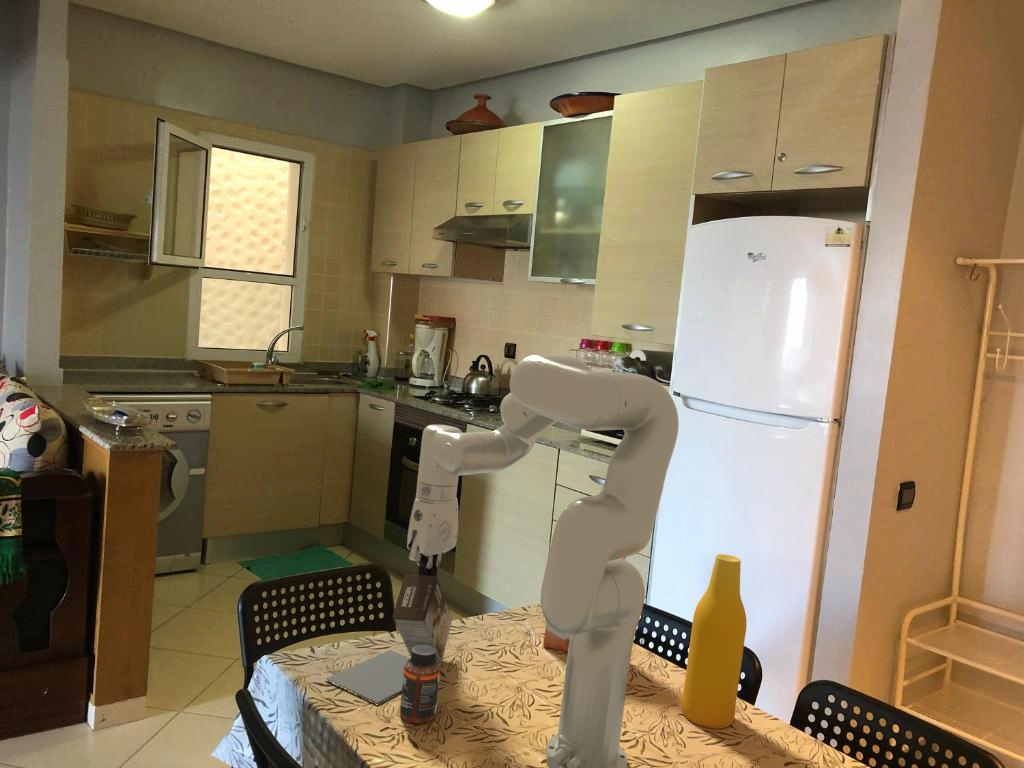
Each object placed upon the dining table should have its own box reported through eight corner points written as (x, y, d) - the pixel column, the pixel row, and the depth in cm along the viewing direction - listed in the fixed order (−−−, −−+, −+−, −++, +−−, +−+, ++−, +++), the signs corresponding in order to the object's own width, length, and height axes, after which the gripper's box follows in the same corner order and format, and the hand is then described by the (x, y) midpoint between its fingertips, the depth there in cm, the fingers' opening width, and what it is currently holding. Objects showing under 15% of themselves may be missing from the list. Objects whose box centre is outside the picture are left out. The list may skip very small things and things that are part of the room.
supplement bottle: (442, 715, 130) (450, 649, 129) (421, 729, 125) (428, 661, 124) (414, 703, 133) (421, 638, 132) (391, 716, 128) (398, 649, 127)
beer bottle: (744, 727, 138) (767, 566, 136) (700, 732, 134) (722, 566, 132) (712, 701, 146) (733, 549, 144) (670, 705, 143) (691, 549, 141)
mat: (377, 705, 131) (377, 702, 131) (325, 681, 138) (325, 678, 137) (439, 672, 146) (439, 670, 146) (390, 652, 152) (390, 649, 152)
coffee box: (422, 616, 156) (404, 572, 145) (453, 618, 155) (437, 574, 144) (410, 660, 150) (391, 617, 139) (443, 663, 149) (426, 620, 138)
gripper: (427, 501, 139) (416, 601, 141) (475, 490, 152) (465, 582, 153) (395, 492, 143) (384, 589, 145) (444, 482, 156) (434, 572, 157)
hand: (426, 586), depth 149 cm, fingers closed
